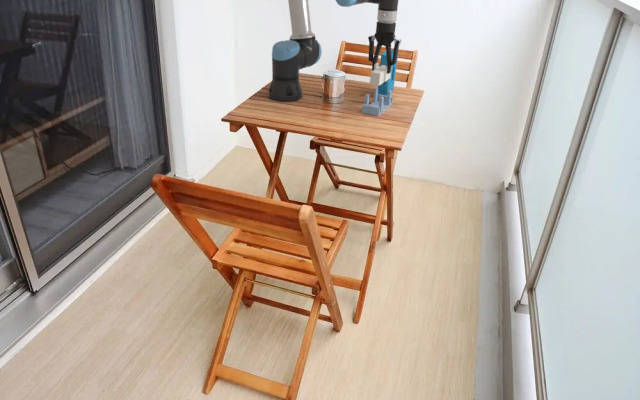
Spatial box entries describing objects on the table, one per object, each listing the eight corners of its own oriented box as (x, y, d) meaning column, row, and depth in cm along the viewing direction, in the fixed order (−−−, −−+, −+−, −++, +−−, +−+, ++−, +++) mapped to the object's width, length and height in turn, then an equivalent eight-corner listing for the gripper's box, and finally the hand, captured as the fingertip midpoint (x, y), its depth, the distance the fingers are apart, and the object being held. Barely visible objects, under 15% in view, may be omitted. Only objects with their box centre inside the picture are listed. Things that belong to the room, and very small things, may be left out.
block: (386, 101, 218) (391, 56, 207) (376, 99, 219) (380, 54, 209) (393, 93, 227) (398, 50, 217) (383, 92, 229) (388, 49, 219)
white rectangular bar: (378, 85, 196) (380, 73, 194) (369, 84, 198) (370, 72, 195) (390, 78, 207) (391, 66, 204) (381, 76, 208) (382, 65, 206)
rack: (378, 116, 200) (380, 99, 197) (361, 112, 203) (363, 96, 200) (392, 104, 214) (394, 89, 210) (376, 101, 216) (377, 86, 213)
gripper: (362, 20, 191) (358, 78, 202) (404, 25, 184) (396, 85, 196) (369, 17, 196) (364, 74, 208) (410, 22, 190) (402, 81, 202)
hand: (380, 79), depth 202 cm, fingers closed on white rectangular bar, 4 cm apart
